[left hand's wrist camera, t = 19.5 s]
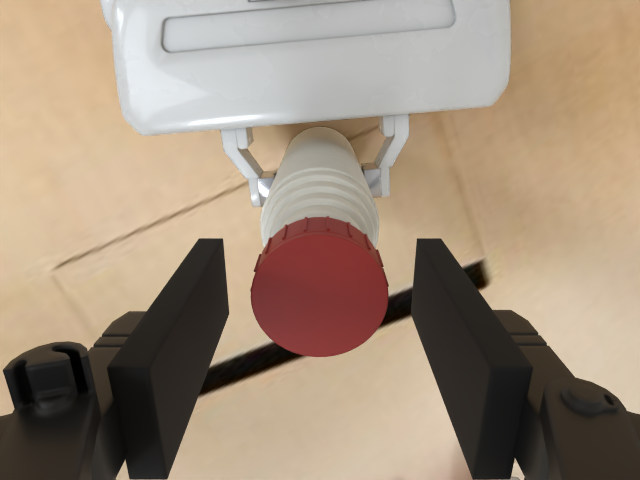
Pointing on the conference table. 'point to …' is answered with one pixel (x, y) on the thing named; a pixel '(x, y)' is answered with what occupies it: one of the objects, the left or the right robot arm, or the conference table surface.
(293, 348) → the cap
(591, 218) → the conference table surface
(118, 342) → the left robot arm
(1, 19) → the conference table surface
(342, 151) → the bottle
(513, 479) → the fish
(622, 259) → the conference table surface
